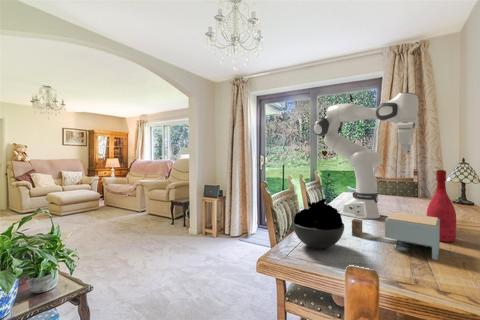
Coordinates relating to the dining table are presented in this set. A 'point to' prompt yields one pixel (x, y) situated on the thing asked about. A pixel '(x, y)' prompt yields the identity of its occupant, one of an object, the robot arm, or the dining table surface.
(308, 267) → the dining table surface
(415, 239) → the cabinet
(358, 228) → the wood-handled metal tool
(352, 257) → the dining table surface
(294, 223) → the coal bowl
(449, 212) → the wine bottle
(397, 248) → the steel puck
